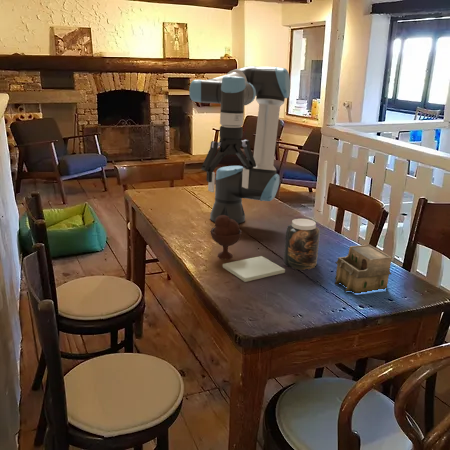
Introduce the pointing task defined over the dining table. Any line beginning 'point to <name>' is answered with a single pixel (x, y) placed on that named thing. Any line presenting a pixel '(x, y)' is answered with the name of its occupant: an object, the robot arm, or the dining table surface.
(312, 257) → the jar
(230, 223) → the ice cream bowl
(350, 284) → the miniature house
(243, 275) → the board
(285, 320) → the dining table surface
